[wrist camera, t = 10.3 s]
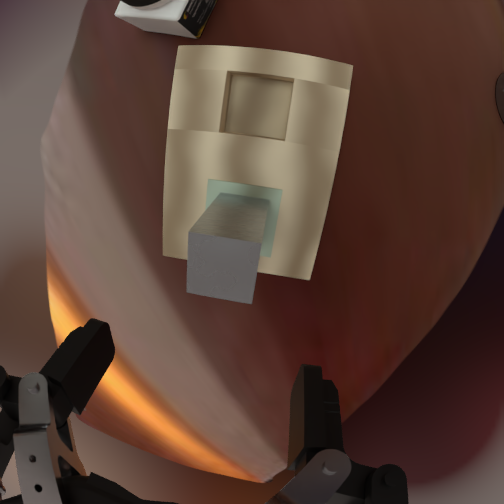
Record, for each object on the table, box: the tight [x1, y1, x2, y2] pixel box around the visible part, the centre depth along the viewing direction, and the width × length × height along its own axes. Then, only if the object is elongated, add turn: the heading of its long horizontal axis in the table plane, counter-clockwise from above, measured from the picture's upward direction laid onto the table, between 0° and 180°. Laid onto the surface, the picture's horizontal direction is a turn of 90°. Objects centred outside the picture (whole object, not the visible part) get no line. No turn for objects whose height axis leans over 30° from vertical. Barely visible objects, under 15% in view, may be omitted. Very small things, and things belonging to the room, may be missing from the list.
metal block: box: [187, 192, 269, 304], centre depth 23 cm, size 5×5×10 cm
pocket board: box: [163, 45, 353, 280], centre depth 27 cm, size 16×22×4 cm
